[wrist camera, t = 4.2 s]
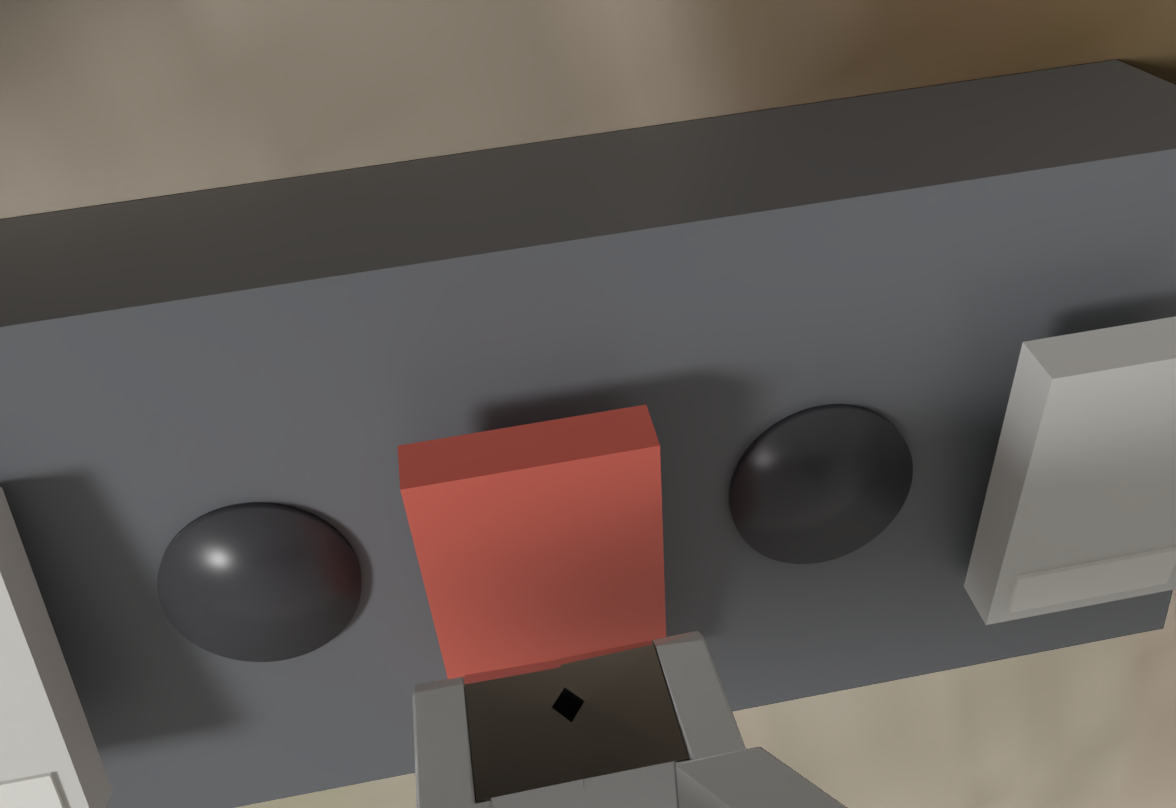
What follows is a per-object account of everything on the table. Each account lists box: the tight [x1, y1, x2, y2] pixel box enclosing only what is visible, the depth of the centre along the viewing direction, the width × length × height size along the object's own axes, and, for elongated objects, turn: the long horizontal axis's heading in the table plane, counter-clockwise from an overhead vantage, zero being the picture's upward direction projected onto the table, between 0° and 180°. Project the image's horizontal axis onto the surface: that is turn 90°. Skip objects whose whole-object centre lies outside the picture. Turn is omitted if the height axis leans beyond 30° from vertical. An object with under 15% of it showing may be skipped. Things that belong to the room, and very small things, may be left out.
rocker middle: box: [398, 405, 666, 679], centre depth 15 cm, size 3×5×1 cm, turn 5°
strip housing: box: [0, 60, 1176, 808], centre depth 18 cm, size 25×9×4 cm, turn 95°
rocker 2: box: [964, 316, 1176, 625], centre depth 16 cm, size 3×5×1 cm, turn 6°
